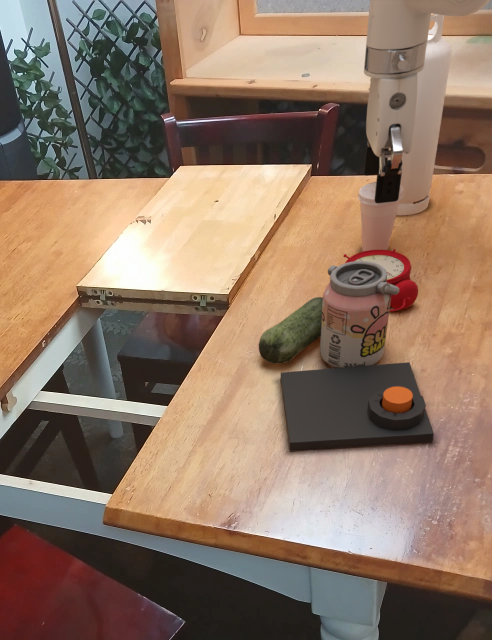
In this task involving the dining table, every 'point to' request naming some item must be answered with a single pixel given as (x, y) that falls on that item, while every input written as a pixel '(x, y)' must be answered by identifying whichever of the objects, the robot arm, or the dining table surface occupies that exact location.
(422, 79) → the bottle
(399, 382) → the grey button plate
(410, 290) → the alarm clock
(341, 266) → the beverage can
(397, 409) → the button
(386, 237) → the smoothie
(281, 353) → the vegetable
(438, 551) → the dining table surface
